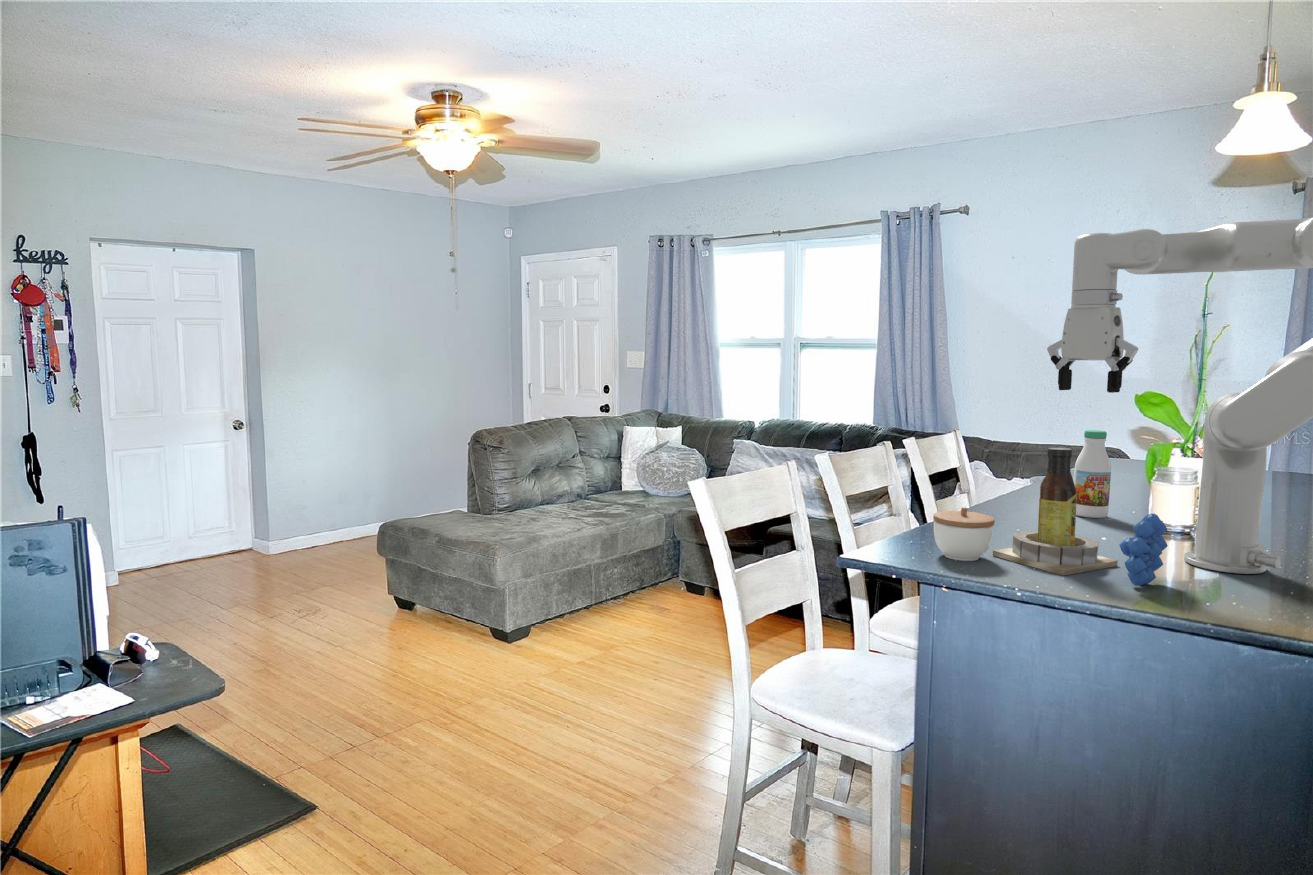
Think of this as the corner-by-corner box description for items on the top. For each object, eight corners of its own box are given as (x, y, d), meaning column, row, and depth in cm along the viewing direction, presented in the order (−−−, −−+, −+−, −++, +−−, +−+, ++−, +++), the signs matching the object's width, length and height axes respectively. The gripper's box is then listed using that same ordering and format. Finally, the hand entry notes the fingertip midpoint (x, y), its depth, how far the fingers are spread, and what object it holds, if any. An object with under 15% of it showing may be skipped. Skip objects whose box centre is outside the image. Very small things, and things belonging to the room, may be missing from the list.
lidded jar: (961, 547, 167) (964, 500, 165) (1005, 561, 157) (1008, 511, 156) (919, 553, 162) (921, 504, 161) (961, 567, 152) (964, 515, 151)
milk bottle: (1063, 512, 203) (1069, 429, 200) (1089, 511, 205) (1095, 428, 203) (1088, 519, 195) (1095, 432, 193) (1115, 517, 198) (1122, 432, 195)
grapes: (1130, 573, 150) (1136, 506, 149) (1172, 581, 145) (1179, 512, 144) (1101, 584, 143) (1107, 514, 141) (1145, 594, 138) (1151, 521, 136)
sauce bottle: (1078, 560, 154) (1085, 451, 152) (1041, 558, 155) (1047, 450, 153) (1067, 551, 160) (1073, 446, 158) (1032, 550, 161) (1038, 446, 159)
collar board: (1117, 565, 155) (1119, 544, 154) (1063, 575, 148) (1065, 553, 147) (1045, 547, 168) (1046, 527, 167) (992, 555, 161) (993, 534, 160)
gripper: (1150, 299, 156) (1145, 392, 158) (1062, 303, 170) (1058, 388, 172) (1128, 298, 152) (1122, 394, 154) (1039, 302, 166) (1035, 389, 168)
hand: (1088, 391), depth 163 cm, fingers open, 9 cm apart
